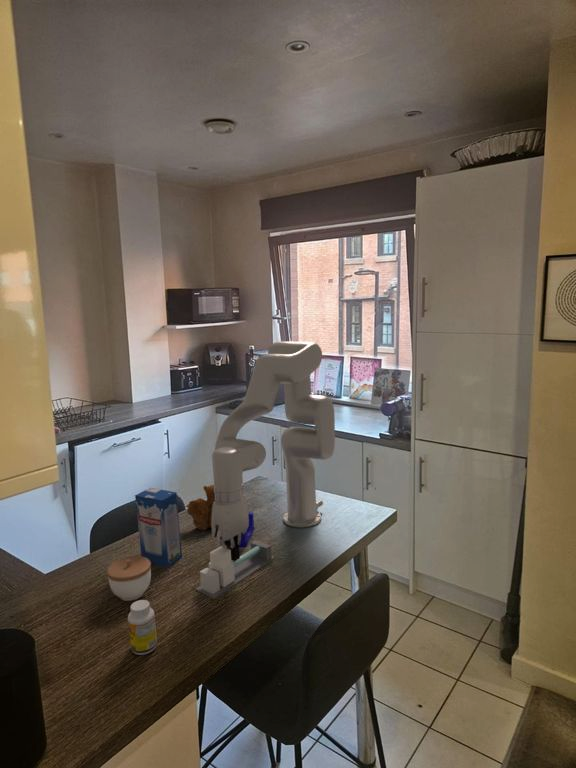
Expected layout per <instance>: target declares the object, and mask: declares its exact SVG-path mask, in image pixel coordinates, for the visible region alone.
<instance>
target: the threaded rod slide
mask: <svg viewBox="0 0 576 768" xmlns="http://www.w3.org/2000/svg"><path fill="white" fill-rule="evenodd" d="M275 559H276V556H274V555H272V545H271V544H269V543H264V542H262V541H260V540H257V539H254V540H253V541H251V542H250V549H249V550H248V551H247V552H244V553H243V554H241V555H240V559H237V561H233V560H231V561H232V562H234V576H235V580H234V581H233V582H231V583H230V584H228V585H227V586H225V587H222V586H220V585H219V579H220V572H219V571H216V570H212V569H209V567H205V568H203V569H202V570H200V571H199V580H200V585H199V586H196V587H195V589H194V590H195V591H197V592H199V593H201V594H203V595H205V596H208V597H210V598H212V599H214V600H215V599H216V598H218V597H220V596H221V595H222V594H224V593H226V592H227V591H228V590H230V589H231V588H232V587H235V586H236V585H237V584H239V583H240V582H242V581H244V580H245V579H246V578H248V577H249V576H251V575H252V574H254V573H255V572H256V571H258V570H259V569H261V568H263V567H264V566H266V565H268V564H269V563H270V562H272V561H273V560H275Z"/></svg>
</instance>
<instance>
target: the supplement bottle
mask: <svg viewBox="0 0 576 768" xmlns="http://www.w3.org/2000/svg"><path fill="white" fill-rule="evenodd" d="M129 608H130V612H129V614H128V615H127V625H128V633H129V640H130V643H129V644H130V650H131V651H132V653H134V654H135V655H138V656H143V655H147V654H149V653H151V652H153V651H154V650H155V649H156V647H157V646H158V636H157V635H158V634H157V629H156V628H157V625H156V617H155V611H154V609H153V608H152V607H151V606H150V601H148V600H146V599H139V600H136V601H134V602H132V603H131V604H130V607H129Z"/></svg>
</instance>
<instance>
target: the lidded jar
mask: <svg viewBox="0 0 576 768" xmlns="http://www.w3.org/2000/svg"><path fill="white" fill-rule="evenodd" d="M151 568H152V563H151V562H150V560H149V559H147V558H146V557H142V556H141V555H134V556H133V555H132V556H127V557H123V558H120V559H118V560H115V561H114V562H112V563H110V564H109V566H108V567H107V569H106V575H107V579H108V584H109V588H110V590H111V592H112V593H113V594H114V595H115V596H116V597H118V598H119V599H120V600H122V601H123V602H124V601H127V602H129V601H130V602H131V601H135V600H138V599H139V598H141V597H142V596H143V595H144V594H145V592H146V591H147V590H148V589H149V586H150V584H151V579H152V569H151Z"/></svg>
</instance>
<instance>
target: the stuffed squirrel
mask: <svg viewBox="0 0 576 768" xmlns="http://www.w3.org/2000/svg"><path fill="white" fill-rule="evenodd" d="M202 488H203V491H204V492H205V495H206V500H205V499H203V498H201V497H200V498H197V499H195V500H194V499H193V500H191V501H189V502H188V504H187V505H185V507H186V508H187V509H186V512H187V514H188V515H190V516H191V517H192V524H194V526H195V527H196V528H197V529H198V530H201V531H207V530H208V529H209V528H212V506H213V502H214V501H215V490H214V484H212V485H208V486H207V485H204V486H203V487H202Z"/></svg>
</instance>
